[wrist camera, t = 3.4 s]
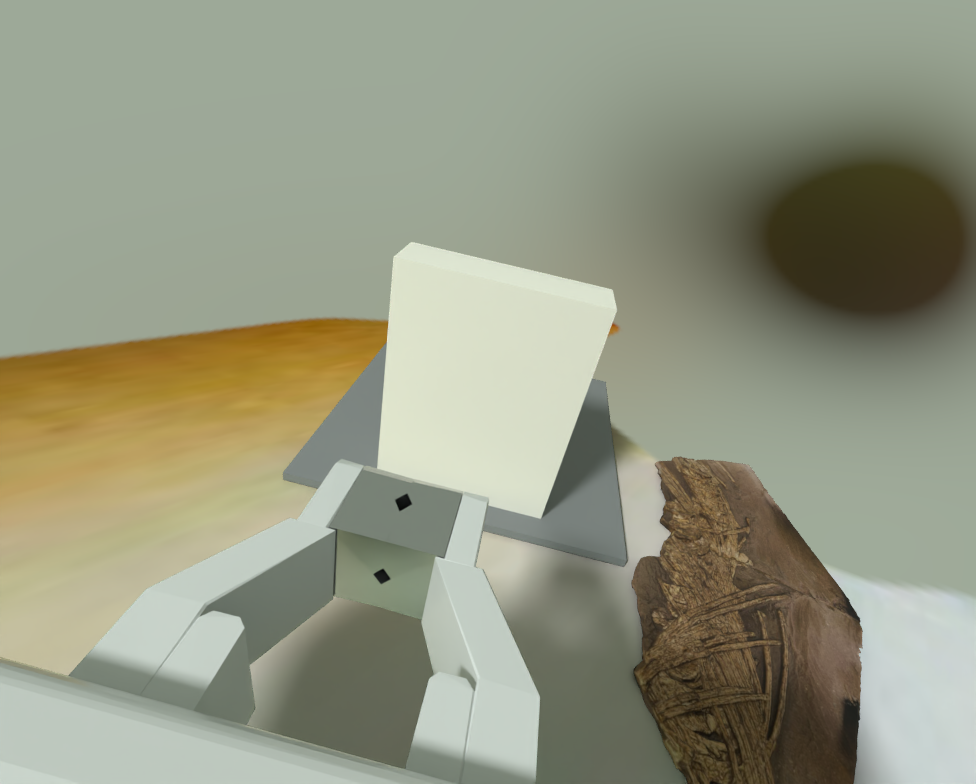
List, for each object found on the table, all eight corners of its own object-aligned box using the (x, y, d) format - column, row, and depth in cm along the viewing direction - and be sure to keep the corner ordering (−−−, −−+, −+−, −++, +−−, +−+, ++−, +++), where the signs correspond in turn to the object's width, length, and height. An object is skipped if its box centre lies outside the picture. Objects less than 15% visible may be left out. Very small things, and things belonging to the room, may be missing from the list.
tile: (543, 483, 27) (612, 287, 20) (540, 518, 25) (616, 309, 18) (393, 446, 27) (413, 240, 21) (376, 477, 25) (393, 256, 18)
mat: (603, 386, 39) (605, 381, 38) (623, 566, 24) (627, 560, 23) (395, 336, 39) (395, 330, 39) (283, 479, 24) (283, 472, 24)
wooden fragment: (660, 437, 35) (665, 426, 34) (819, 500, 32) (828, 489, 31) (565, 883, 14) (576, 873, 13) (998, 1175, 11) (1034, 1180, 11)
